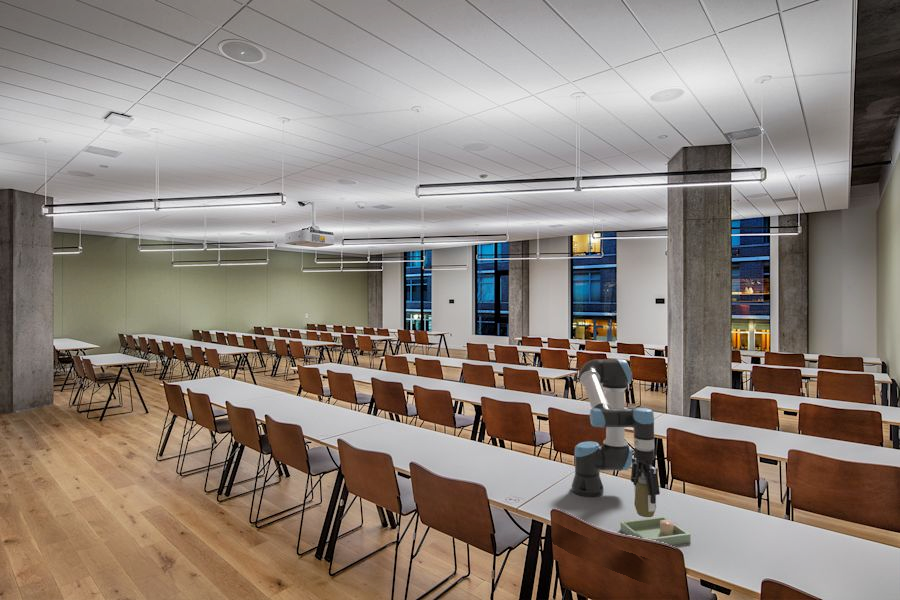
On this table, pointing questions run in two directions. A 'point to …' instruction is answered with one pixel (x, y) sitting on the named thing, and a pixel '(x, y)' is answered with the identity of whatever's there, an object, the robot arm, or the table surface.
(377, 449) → the table surface
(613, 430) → the robot arm
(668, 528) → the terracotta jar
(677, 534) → the tray
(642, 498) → the squeeze bottle
